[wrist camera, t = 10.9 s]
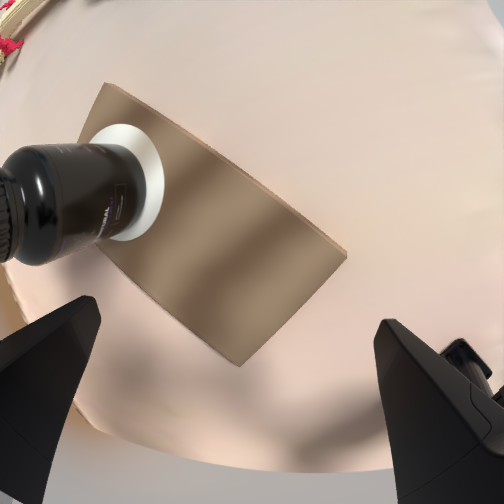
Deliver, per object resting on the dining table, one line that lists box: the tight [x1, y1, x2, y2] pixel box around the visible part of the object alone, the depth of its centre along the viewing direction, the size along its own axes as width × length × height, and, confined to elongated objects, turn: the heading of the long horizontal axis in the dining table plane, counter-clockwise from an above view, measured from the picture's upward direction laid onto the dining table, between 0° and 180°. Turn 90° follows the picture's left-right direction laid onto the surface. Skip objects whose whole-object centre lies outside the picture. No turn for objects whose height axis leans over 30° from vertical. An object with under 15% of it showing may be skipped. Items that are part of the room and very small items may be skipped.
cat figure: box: [0, 0, 44, 65], centre depth 15 cm, size 10×9×25 cm
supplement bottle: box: [0, 143, 147, 266], centre depth 14 cm, size 7×7×12 cm
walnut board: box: [77, 82, 347, 367], centre depth 20 cm, size 22×12×1 cm, turn 54°
